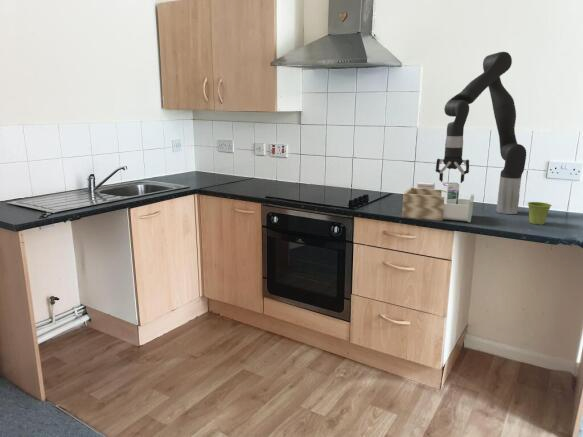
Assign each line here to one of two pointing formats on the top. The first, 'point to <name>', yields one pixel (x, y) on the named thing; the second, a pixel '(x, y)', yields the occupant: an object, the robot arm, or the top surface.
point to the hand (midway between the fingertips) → (451, 182)
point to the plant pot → (538, 212)
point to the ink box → (426, 185)
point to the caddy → (423, 204)
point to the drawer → (459, 210)
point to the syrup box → (450, 192)
